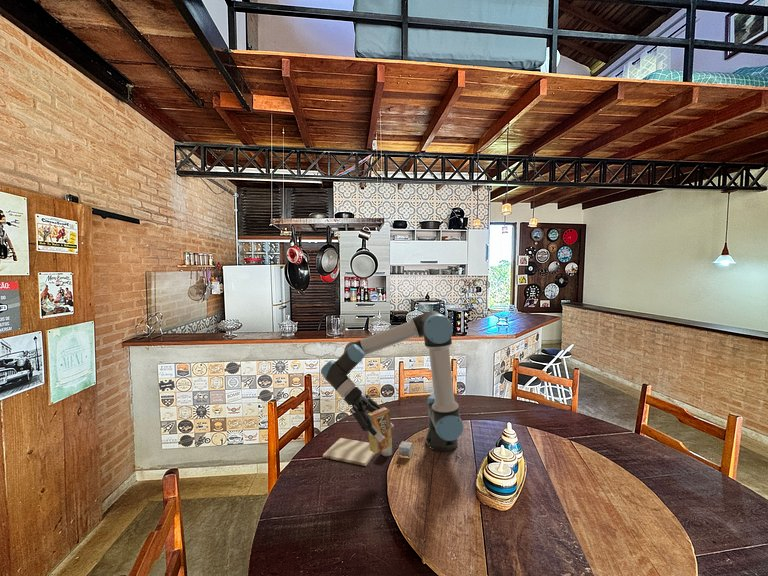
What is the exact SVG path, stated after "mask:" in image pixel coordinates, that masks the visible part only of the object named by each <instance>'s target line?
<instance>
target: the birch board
mask: <svg viewBox="0 0 768 576" xmlns="http://www.w3.org/2000/svg"><path fill="white" fill-rule="evenodd" d="M375 455H376V454H375V453H373V452H372V451H370V447H369V441H360V440H354V439H349V438H343V437H340V438H339V439H337V440H336V442H334V443H333V444H332V445H331V446H330V447H329V448H328V449H327V450H326V451H325V452H324V453H323V454H322V458H324V457H326V458H325V459H329V458H330V460H335V461H339V462H345V463H349V464H355V465H360V466H365V467H366V466H367V465H368V464H369V463H370V461H372V458H374V456H375Z"/></svg>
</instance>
